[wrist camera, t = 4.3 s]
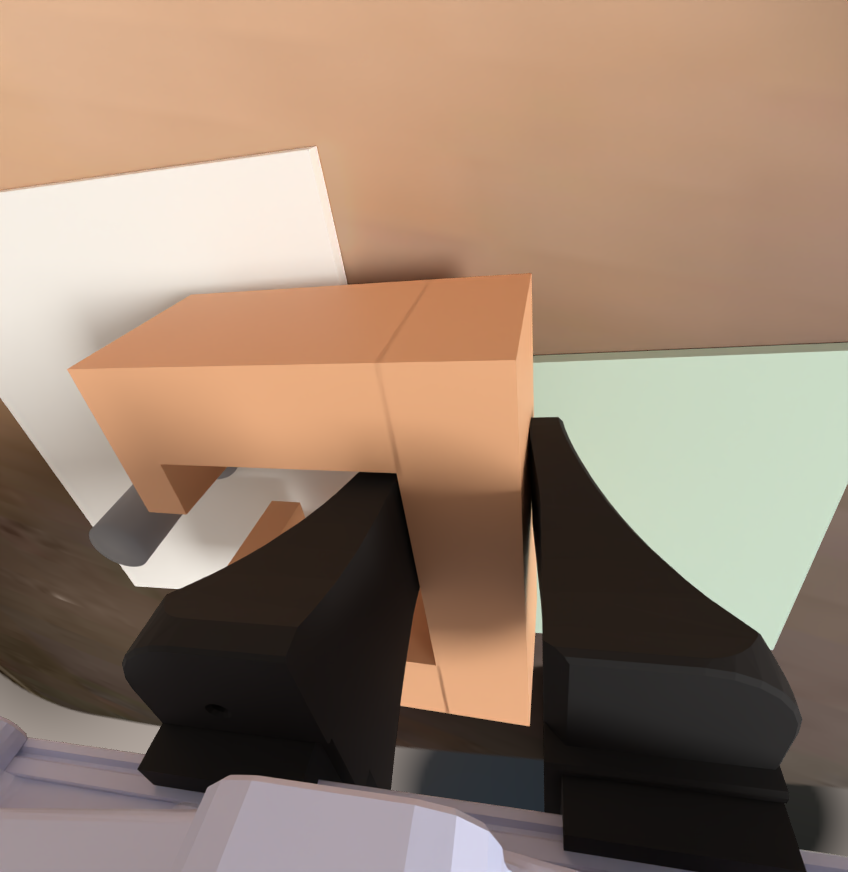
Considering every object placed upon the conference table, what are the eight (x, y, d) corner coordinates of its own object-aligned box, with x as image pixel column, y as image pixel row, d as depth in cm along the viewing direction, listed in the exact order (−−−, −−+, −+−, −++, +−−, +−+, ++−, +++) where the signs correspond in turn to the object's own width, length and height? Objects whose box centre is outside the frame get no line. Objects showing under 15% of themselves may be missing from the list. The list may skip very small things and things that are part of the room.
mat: (768, 640, 19) (772, 650, 19) (446, 617, 21) (444, 625, 21) (898, 340, 12) (908, 348, 12) (398, 361, 15) (396, 368, 14)
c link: (301, 576, 19) (246, 681, 15) (191, 294, 13) (66, 369, 10) (537, 598, 16) (529, 726, 13) (531, 273, 11) (516, 360, 7)
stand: (417, 593, 21) (390, 720, 17) (141, 577, 24) (63, 682, 20) (316, 145, 12) (203, 194, 8) (-115, 206, 14) (-360, 265, 10)
